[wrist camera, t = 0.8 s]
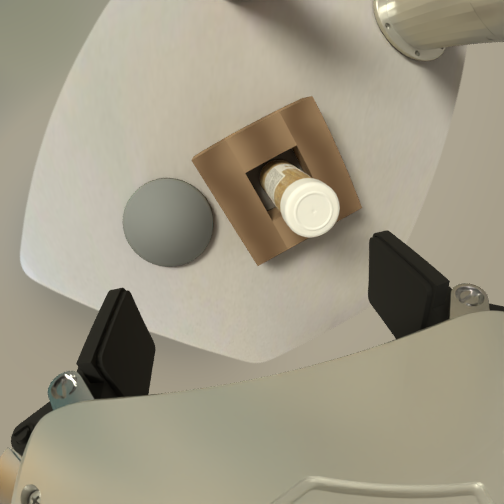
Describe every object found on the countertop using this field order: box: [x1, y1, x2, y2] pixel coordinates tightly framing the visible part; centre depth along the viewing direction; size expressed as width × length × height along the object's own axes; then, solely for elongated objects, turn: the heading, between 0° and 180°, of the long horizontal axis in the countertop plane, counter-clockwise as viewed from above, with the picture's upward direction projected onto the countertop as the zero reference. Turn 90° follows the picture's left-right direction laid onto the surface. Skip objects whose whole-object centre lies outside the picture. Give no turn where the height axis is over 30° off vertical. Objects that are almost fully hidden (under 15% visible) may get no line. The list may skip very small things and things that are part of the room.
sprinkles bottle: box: [260, 159, 340, 237], centre depth 28 cm, size 5×5×13 cm
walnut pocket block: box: [192, 96, 362, 266], centre depth 33 cm, size 14×14×4 cm
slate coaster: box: [123, 178, 213, 267], centre depth 35 cm, size 11×11×1 cm
